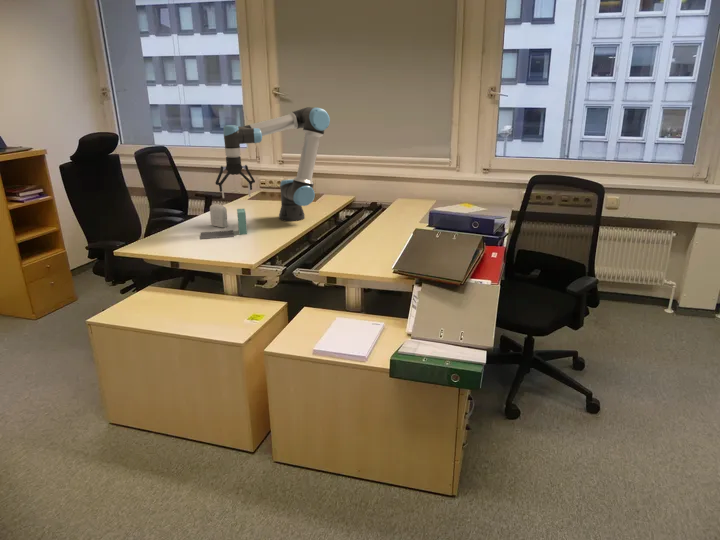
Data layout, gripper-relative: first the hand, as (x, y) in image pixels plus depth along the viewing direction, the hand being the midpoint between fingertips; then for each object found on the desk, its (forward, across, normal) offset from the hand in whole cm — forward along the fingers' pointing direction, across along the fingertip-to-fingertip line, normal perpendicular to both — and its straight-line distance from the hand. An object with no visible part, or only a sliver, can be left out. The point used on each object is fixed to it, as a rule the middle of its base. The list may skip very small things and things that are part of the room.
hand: (236, 197), depth 279 cm
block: (+19, -2, +1) cm, 19 cm away
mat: (+19, +12, +3) cm, 23 cm away
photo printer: (+19, +10, -16) cm, 27 cm away
